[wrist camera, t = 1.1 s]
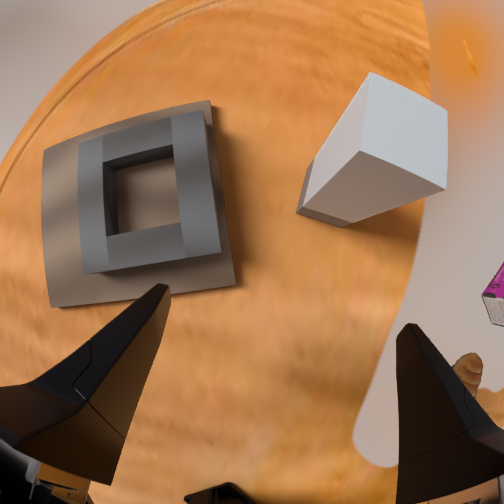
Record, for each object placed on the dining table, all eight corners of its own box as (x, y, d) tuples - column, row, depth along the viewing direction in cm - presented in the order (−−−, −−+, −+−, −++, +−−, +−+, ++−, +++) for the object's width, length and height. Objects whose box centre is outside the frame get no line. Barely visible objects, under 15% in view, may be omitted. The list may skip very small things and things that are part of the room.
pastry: (453, 343, 23) (475, 352, 19) (482, 357, 23) (502, 365, 19) (412, 420, 23) (429, 436, 19) (446, 426, 23) (462, 439, 19)
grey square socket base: (236, 283, 23) (234, 287, 19) (56, 306, 22) (35, 311, 19) (210, 105, 23) (206, 84, 20) (48, 152, 23) (30, 142, 19)
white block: (340, 227, 23) (445, 189, 9) (295, 213, 23) (359, 150, 9) (350, 183, 23) (447, 110, 9) (307, 169, 23) (370, 71, 9)
